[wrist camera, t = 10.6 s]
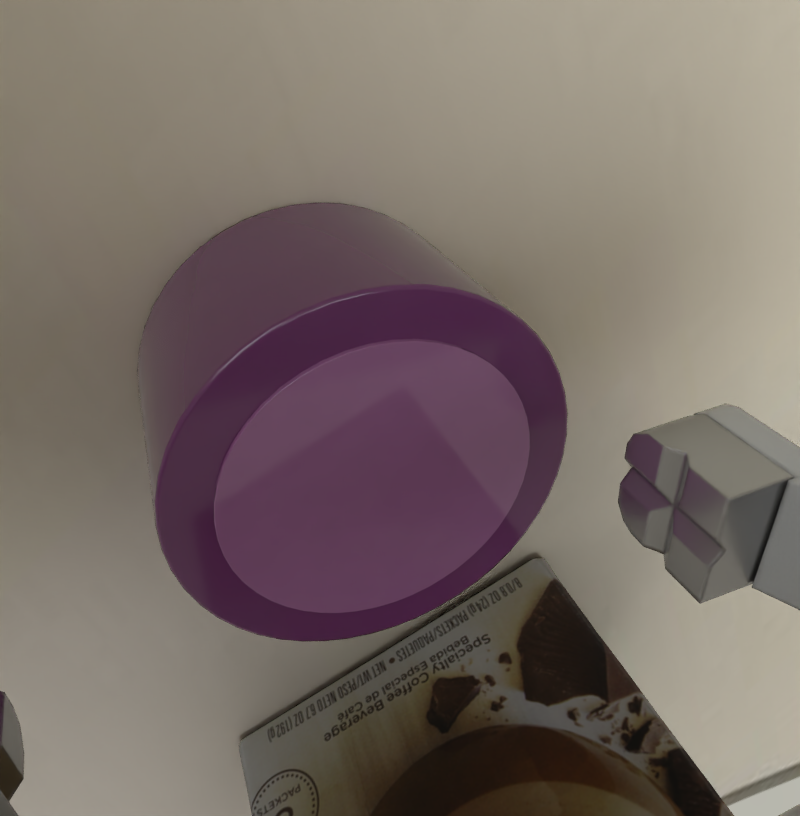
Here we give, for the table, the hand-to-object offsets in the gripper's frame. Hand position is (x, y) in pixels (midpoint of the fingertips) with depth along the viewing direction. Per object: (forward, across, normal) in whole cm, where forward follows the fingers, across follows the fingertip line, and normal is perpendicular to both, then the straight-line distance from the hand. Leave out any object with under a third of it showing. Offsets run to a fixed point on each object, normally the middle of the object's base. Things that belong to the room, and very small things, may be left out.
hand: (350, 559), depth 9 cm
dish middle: (+5, -1, 0) cm, 5 cm away
